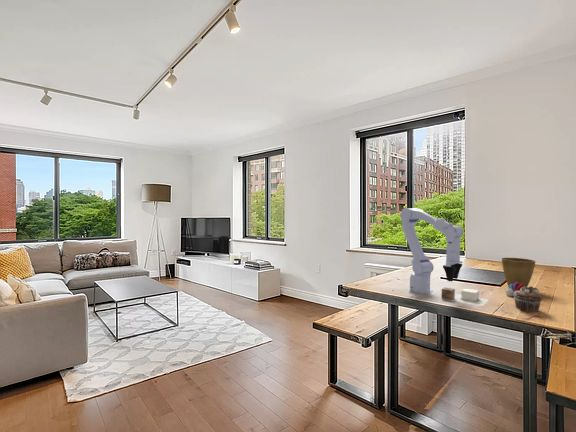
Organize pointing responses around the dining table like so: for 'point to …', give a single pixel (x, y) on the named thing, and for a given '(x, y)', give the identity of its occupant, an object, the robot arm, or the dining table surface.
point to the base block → (470, 294)
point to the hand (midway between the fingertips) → (452, 279)
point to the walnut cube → (448, 293)
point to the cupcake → (528, 299)
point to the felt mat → (479, 302)
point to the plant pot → (518, 270)
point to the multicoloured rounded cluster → (514, 289)
